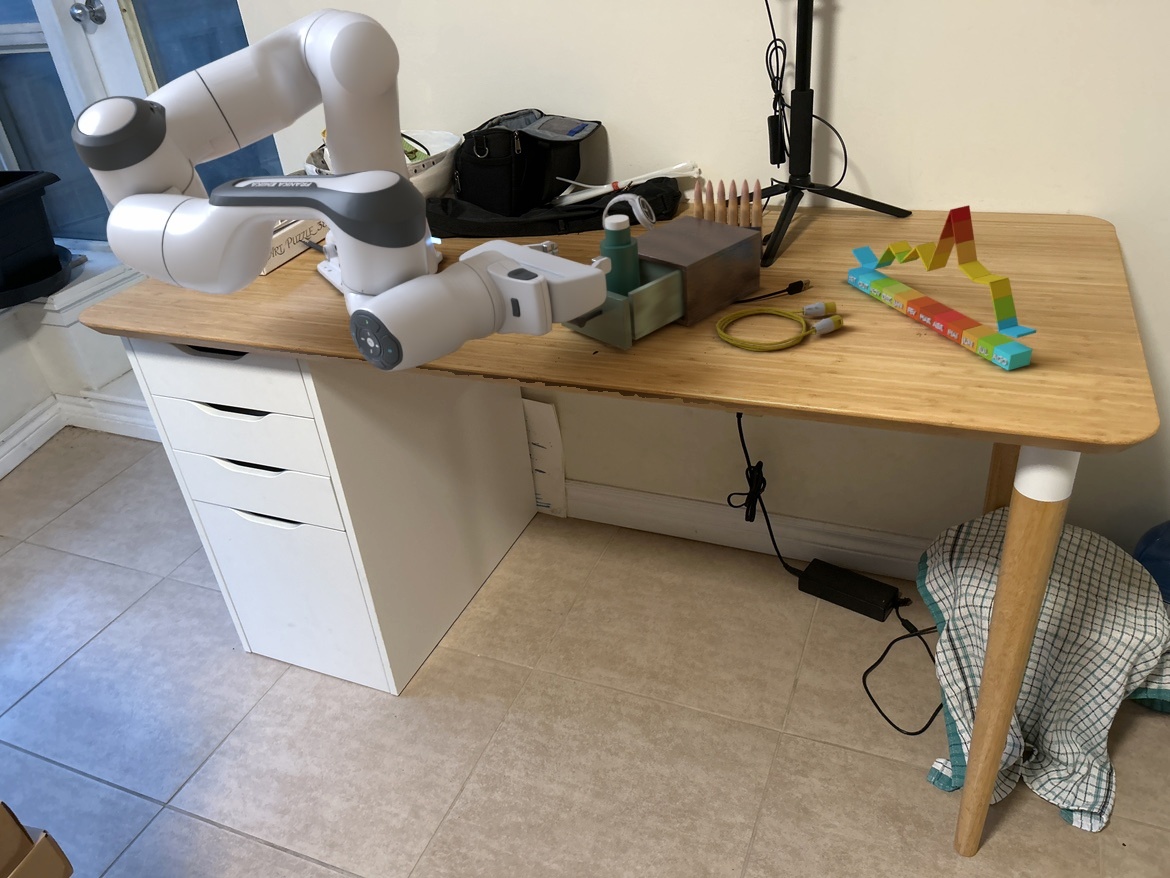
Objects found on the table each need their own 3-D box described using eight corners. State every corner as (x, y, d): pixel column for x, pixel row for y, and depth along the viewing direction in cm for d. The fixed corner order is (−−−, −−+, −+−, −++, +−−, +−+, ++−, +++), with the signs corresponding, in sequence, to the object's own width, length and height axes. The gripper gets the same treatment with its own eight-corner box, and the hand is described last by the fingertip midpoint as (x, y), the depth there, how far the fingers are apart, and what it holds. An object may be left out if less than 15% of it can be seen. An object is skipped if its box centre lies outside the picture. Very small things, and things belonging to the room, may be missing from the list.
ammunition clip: (692, 258, 133) (690, 181, 126) (694, 254, 134) (692, 178, 128) (761, 259, 130) (763, 180, 123) (763, 255, 131) (764, 177, 125)
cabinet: (688, 326, 112) (686, 266, 108) (616, 303, 121) (612, 246, 116) (759, 288, 120) (761, 231, 116) (688, 269, 129) (686, 215, 125)
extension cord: (841, 356, 101) (842, 341, 100) (709, 349, 106) (709, 335, 105) (844, 313, 111) (845, 299, 110) (724, 309, 116) (724, 295, 114)
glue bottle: (598, 316, 113) (589, 220, 106) (623, 304, 116) (616, 210, 109) (623, 325, 110) (616, 227, 103) (649, 312, 112) (644, 216, 106)
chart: (845, 282, 119) (854, 175, 111) (865, 278, 120) (874, 171, 112) (1006, 371, 95) (1031, 242, 87) (1029, 364, 96) (1056, 236, 88)
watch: (655, 272, 129) (651, 200, 123) (603, 272, 131) (597, 202, 125) (660, 258, 134) (657, 189, 128) (610, 259, 136) (605, 190, 130)
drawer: (601, 363, 104) (596, 312, 100) (537, 337, 112) (530, 289, 108) (701, 311, 114) (700, 263, 110) (635, 290, 122) (632, 245, 118)
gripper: (443, 297, 104) (528, 262, 112) (552, 340, 91) (641, 298, 99) (433, 247, 101) (522, 215, 109) (545, 285, 88) (637, 245, 95)
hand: (580, 255), depth 103 cm, fingers open, 8 cm apart
